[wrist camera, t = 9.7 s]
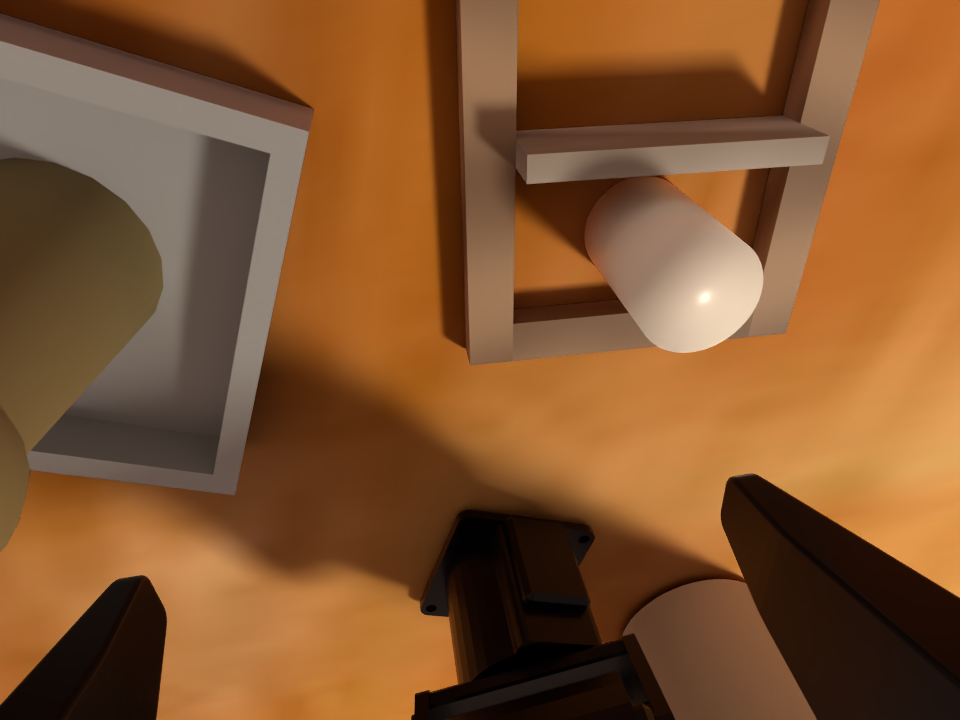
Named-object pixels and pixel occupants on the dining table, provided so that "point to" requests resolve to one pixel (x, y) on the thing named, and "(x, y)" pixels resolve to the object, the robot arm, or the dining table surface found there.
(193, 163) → the tray
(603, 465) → the dining table surface
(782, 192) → the ladder
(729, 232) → the cylinder
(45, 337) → the cork
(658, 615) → the travel mug
